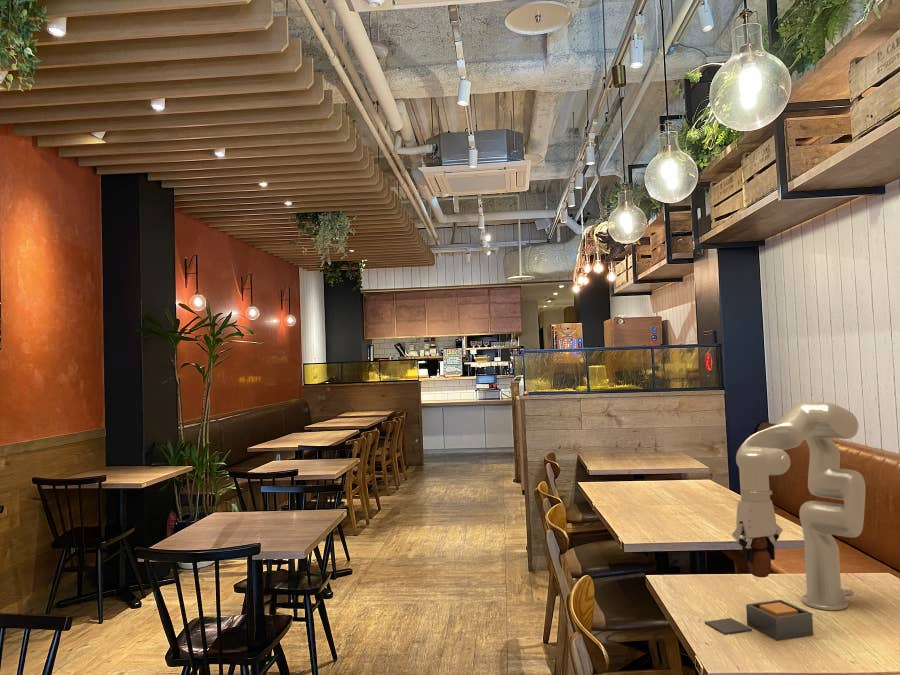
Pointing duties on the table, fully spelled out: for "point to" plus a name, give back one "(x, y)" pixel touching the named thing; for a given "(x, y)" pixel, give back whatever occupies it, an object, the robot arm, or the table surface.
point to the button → (778, 609)
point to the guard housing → (779, 622)
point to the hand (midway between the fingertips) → (759, 559)
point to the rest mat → (728, 626)
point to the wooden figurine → (760, 558)
